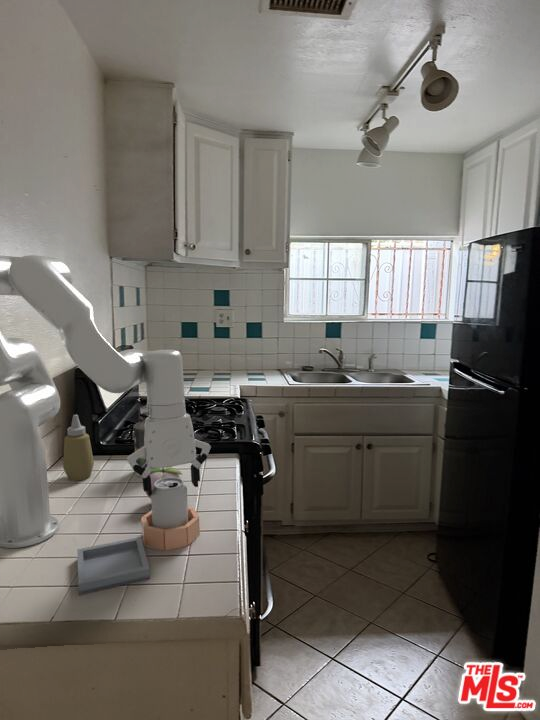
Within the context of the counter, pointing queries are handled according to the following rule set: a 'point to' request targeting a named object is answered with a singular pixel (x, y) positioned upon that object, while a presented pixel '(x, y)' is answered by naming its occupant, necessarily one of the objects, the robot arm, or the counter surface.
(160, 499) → the can
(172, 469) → the decorative fruit
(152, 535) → the terracotta ring
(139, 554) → the slate tray
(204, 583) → the counter surface
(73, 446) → the squeeze bottle
